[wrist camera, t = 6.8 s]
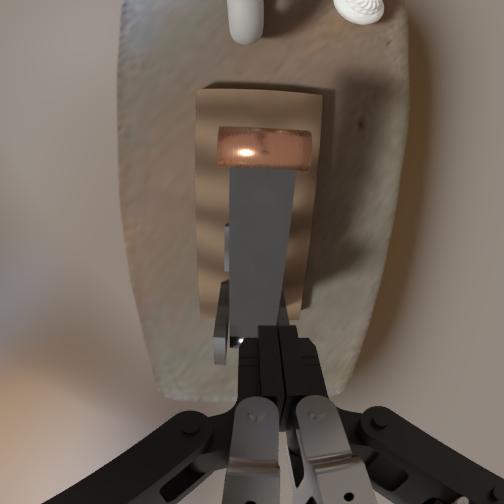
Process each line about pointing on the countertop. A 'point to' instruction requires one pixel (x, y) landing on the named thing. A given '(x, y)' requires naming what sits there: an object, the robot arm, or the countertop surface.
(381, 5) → the white rounded bulbous piece
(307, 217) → the cracker base
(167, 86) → the countertop surface
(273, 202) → the lever
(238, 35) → the donut
